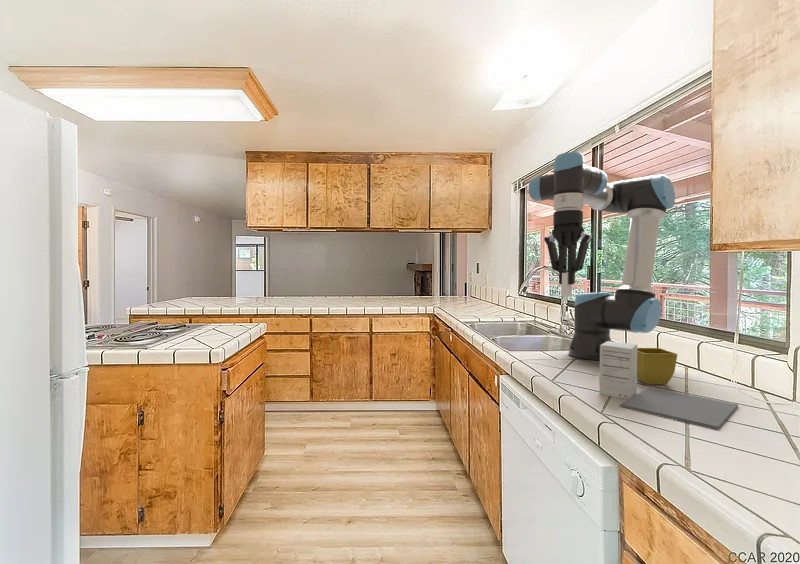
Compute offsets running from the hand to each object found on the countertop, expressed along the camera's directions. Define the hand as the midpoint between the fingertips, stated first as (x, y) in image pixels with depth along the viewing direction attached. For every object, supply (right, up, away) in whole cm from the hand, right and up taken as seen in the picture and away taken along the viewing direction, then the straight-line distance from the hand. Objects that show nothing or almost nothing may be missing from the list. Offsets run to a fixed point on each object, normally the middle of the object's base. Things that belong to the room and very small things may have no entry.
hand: (566, 296), depth 113 cm
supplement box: (+9, -25, -9) cm, 28 cm away
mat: (+18, -25, -19) cm, 36 cm away
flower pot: (+24, -24, +1) cm, 34 cm away
